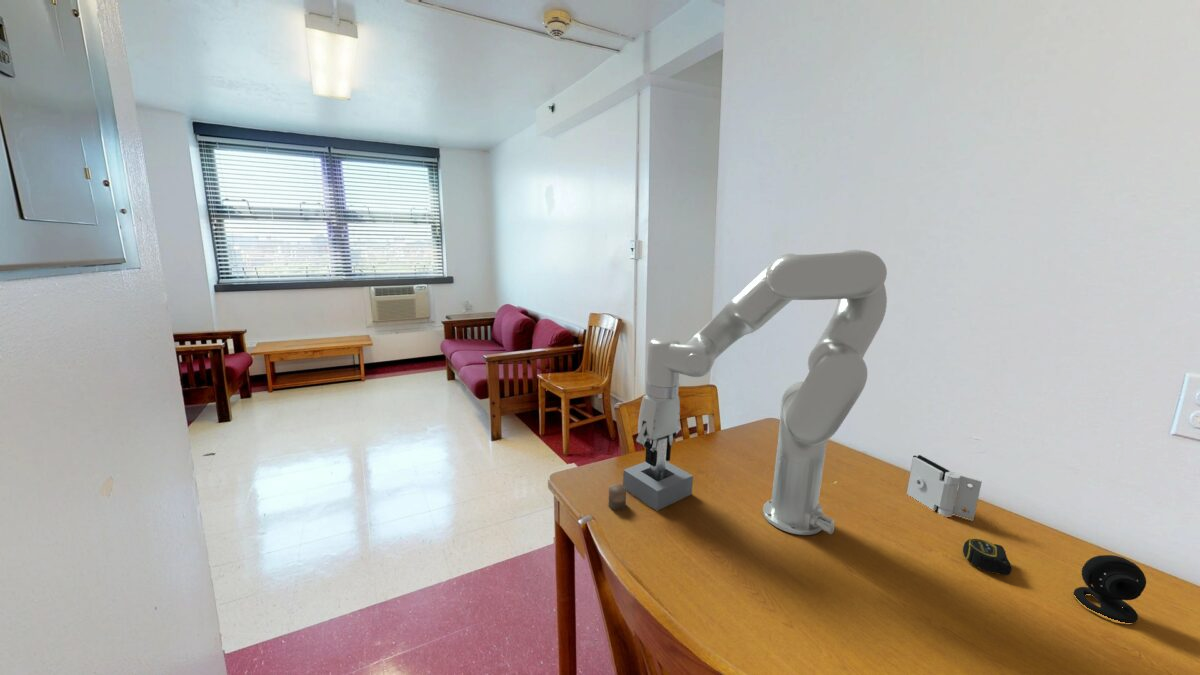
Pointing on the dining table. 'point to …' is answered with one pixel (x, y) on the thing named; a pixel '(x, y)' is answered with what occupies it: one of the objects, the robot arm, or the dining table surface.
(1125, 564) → the webcam
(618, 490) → the walnut pin
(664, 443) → the steel pin
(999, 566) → the tape measure
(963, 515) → the hinge
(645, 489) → the hole block
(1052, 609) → the dining table surface
